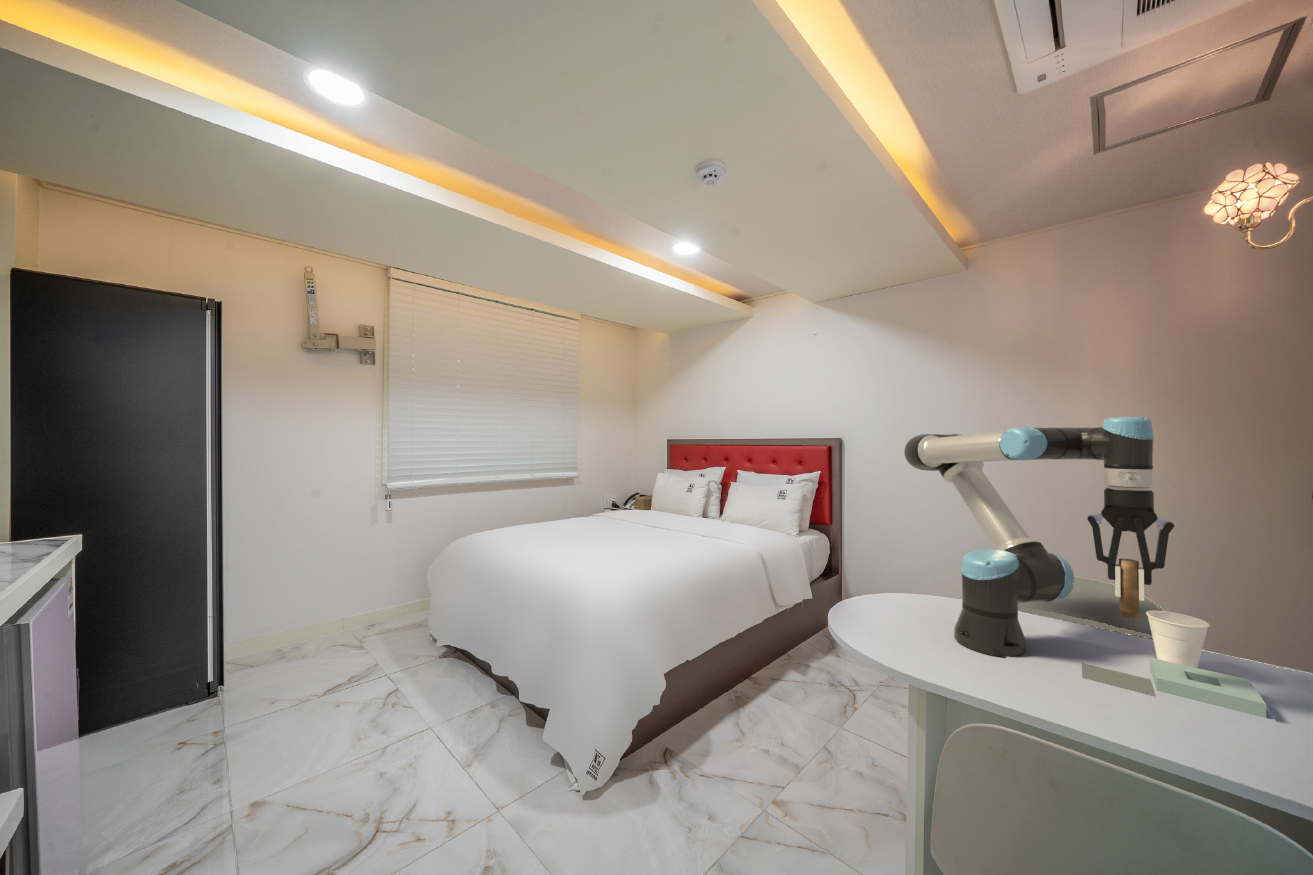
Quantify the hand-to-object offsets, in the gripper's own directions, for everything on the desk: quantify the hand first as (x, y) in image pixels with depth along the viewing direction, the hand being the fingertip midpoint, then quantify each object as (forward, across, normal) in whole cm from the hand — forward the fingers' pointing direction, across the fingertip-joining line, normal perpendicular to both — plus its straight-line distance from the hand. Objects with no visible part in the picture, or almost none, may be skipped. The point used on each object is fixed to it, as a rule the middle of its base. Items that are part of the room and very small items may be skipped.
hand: (1129, 596), depth 100 cm
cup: (+19, +8, +19) cm, 28 cm away
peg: (+4, 0, 0) cm, 4 cm away
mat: (+19, -2, 0) cm, 19 cm away
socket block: (+19, +11, +5) cm, 22 cm away
